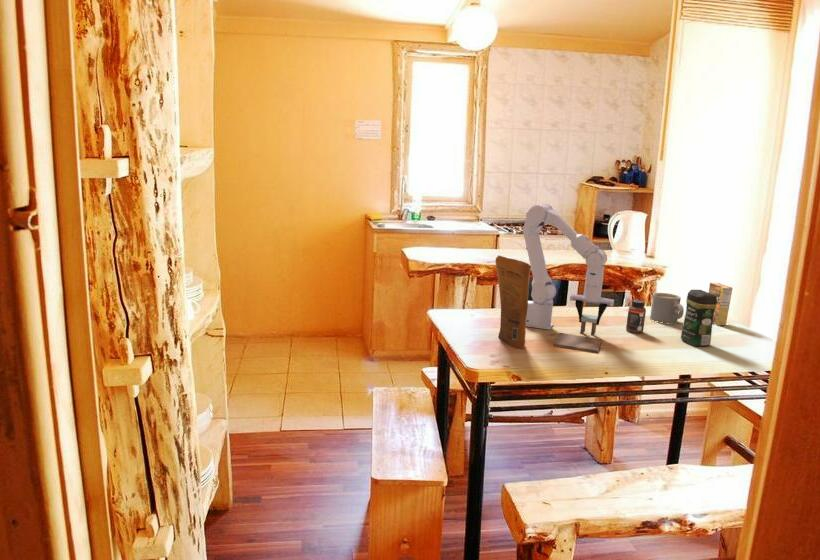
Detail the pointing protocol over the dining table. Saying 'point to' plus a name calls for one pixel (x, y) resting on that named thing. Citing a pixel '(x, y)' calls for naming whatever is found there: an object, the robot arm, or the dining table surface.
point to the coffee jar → (699, 318)
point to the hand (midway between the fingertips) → (589, 323)
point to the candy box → (721, 302)
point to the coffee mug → (666, 308)
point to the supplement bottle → (636, 317)
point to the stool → (589, 319)
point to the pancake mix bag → (513, 299)
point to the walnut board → (577, 342)
